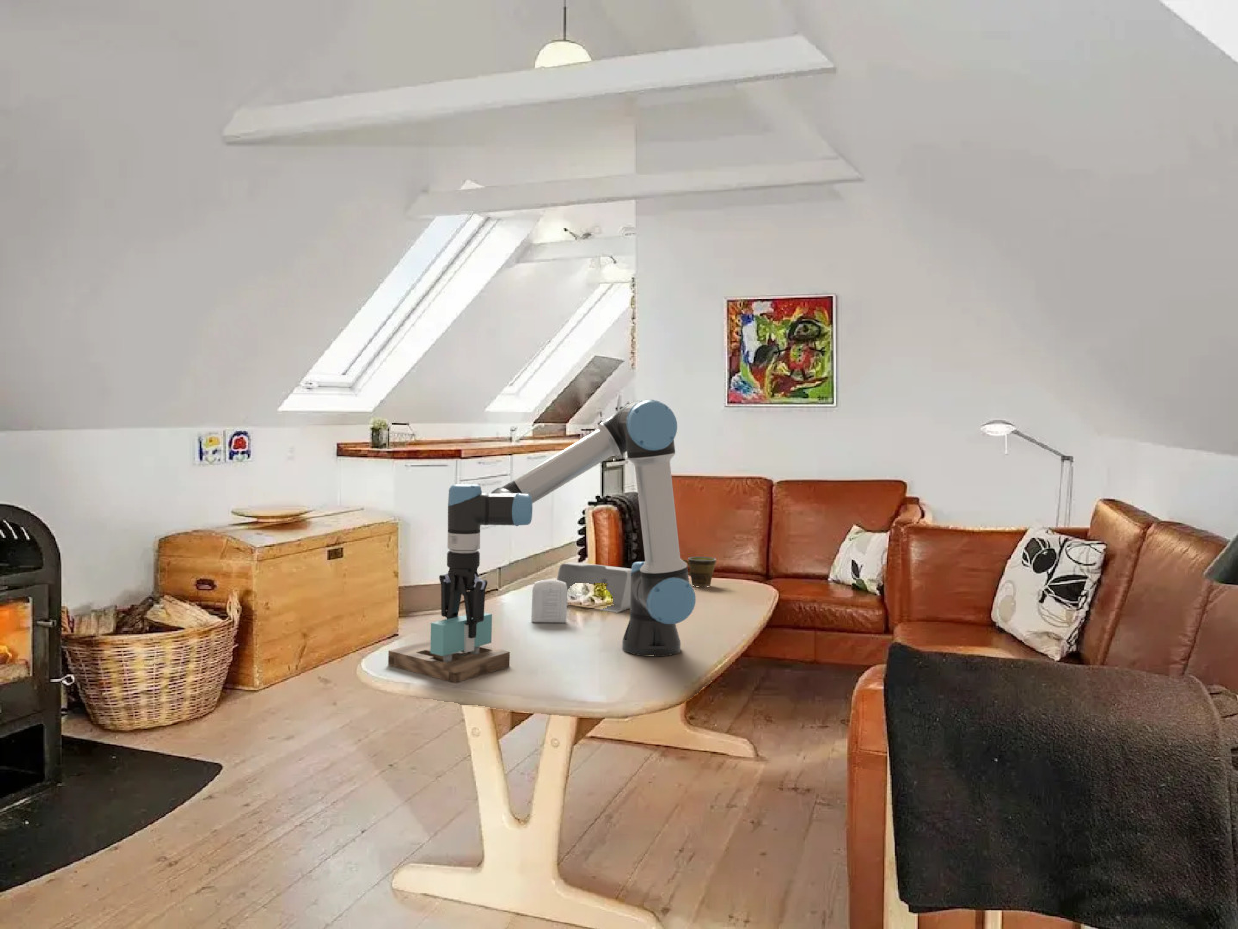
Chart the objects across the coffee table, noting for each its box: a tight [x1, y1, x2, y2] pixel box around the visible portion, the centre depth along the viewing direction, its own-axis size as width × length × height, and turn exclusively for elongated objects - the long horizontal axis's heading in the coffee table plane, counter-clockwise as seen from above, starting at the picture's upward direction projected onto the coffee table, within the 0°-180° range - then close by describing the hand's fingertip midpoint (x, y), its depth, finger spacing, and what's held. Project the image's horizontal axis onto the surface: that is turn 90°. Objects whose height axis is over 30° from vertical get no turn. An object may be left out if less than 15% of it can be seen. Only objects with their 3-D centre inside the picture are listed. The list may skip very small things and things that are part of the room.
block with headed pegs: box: [430, 612, 493, 663], centre depth 213 cm, size 4×16×12 cm, turn 145°
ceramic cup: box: [682, 556, 717, 588], centre depth 329 cm, size 13×10×10 cm
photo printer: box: [530, 579, 568, 624], centre depth 265 cm, size 10×4×12 cm, turn 98°
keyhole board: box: [387, 639, 511, 684], centre depth 215 cm, size 22×18×4 cm
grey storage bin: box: [556, 561, 632, 614], centre depth 292 cm, size 25×16×12 cm, turn 62°
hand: (461, 649), depth 213 cm, fingers closed on block with headed pegs, 4 cm apart
